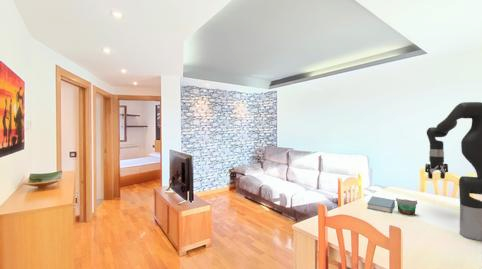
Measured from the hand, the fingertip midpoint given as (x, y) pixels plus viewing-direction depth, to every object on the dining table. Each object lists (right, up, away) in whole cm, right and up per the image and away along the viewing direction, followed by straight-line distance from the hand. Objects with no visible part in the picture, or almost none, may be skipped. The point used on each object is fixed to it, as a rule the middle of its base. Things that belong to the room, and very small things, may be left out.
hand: (436, 178), depth 149 cm
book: (-30, -25, +14) cm, 41 cm away
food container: (-21, -25, -1) cm, 33 cm away
